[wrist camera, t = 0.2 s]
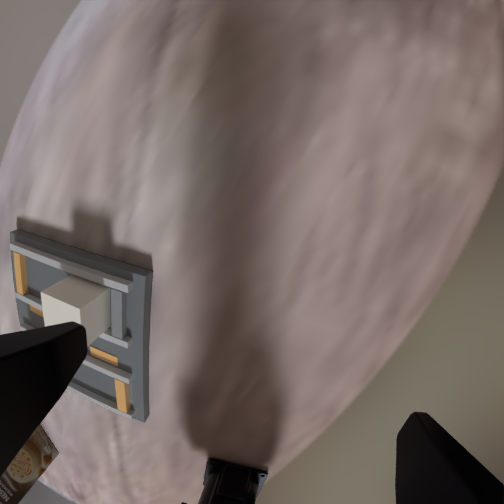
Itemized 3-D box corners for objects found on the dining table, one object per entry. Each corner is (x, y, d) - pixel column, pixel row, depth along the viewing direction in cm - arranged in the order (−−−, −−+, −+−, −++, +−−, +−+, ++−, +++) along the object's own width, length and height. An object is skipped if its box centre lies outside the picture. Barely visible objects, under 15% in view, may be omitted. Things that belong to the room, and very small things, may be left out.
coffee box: (61, 454, 36) (13, 515, 21) (38, 445, 37) (-8, 498, 22) (33, 414, 34) (-26, 475, 18) (13, 406, 35) (-43, 459, 20)
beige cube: (110, 325, 23) (83, 350, 20) (74, 311, 24) (45, 331, 20) (110, 287, 22) (79, 309, 19) (72, 274, 23) (40, 291, 19)
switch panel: (149, 415, 27) (141, 427, 26) (34, 359, 29) (24, 367, 27) (152, 271, 23) (140, 280, 21) (18, 229, 24) (4, 234, 22)
